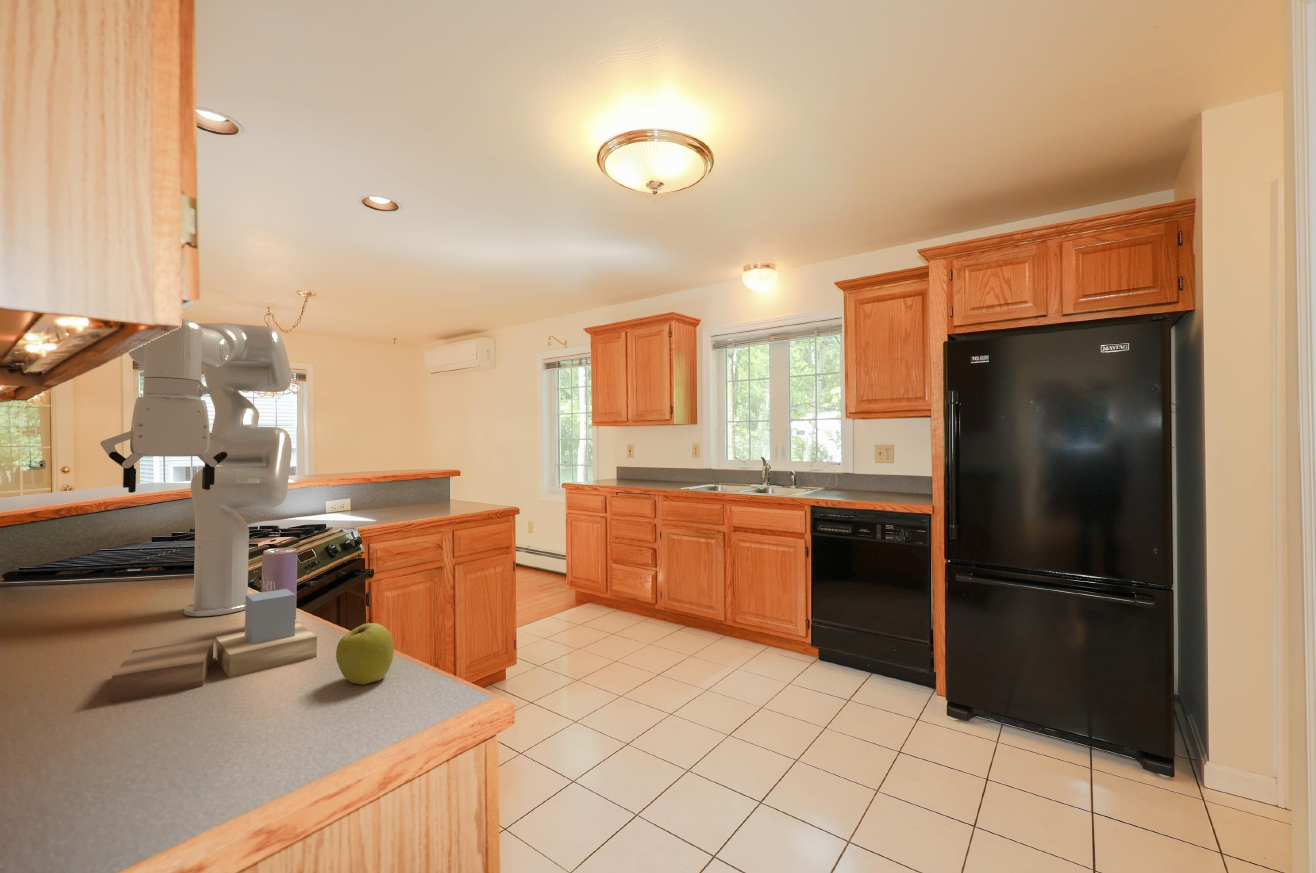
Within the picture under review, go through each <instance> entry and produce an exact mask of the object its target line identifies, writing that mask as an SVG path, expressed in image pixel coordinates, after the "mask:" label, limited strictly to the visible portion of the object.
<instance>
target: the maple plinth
mask: <svg viewBox="0 0 1316 873" xmlns="http://www.w3.org/2000/svg"><path fill="white" fill-rule="evenodd" d="M317 645H318V636H317V635H316V634H315V633H313V632H312V631H311V630H309V629H308V628H306V626H304V625H302V624H301V623H300V622H299V621H295V636H291V637H286V638H281V639H276V640H271V641H266V642H261V643H256V644H252V643H251V642H250V641H249V640H248V639H247V638H246V637H245V631H241V632H234V633H231V634H225V635H220V636H215V648H214V649H215V650H214V652H215V653H214V655H215V657H214V658H215V660H216V661H217V663H218V664H219V665H220V667H221V668H222V669H223V671H224V673H225V674H226V675H227V676H228V678H232V677H238V676H242V675H246V674H250V673H254V672H258V671H263V670H268V669H272V668H276V667H280V666H285V665H288V664H293V663H298V662H301V661H306V660H310V659H315V658H317V657H318V656H317V654H318V646H317Z"/></svg>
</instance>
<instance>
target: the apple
mask: <svg viewBox="0 0 1316 873" xmlns="http://www.w3.org/2000/svg"><path fill="white" fill-rule="evenodd" d="M371 619H372V618H371V617H370V618H369V619H368V620H367V621H366V623H363V624H361V625H359V626H357V627H355V628H353V629H352V630H350V631H349V632H347V633H346V634H344V636H343V637H342V638H341V639H340V640H339V642H338V643H337V646H336V650H335V652H336V653H335V656H336V657H335V658H336V663H337V666H338V668H339V670H340V672H341V674H342V676H343V677H344V678H345V679H346V680H347V681H348V682H350V683H352V684H356V685H357V684H358V685H368V684H370V683H373V682H377V681H381V680H382V679H384V678H385V677H386V675H387V673H388V672H389V671H390V668H391V665H392V663H393V658H394V653H395V651H394V650H395V648H394V647H395V645H394V643H395V642H394V640H393V637H392V635H391V632H390V631H389V630H388V629H387V627H385V626H384V625H382V624H380V623H375V622H373V623H370V621H371ZM368 622H369V623H368Z"/></svg>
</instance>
